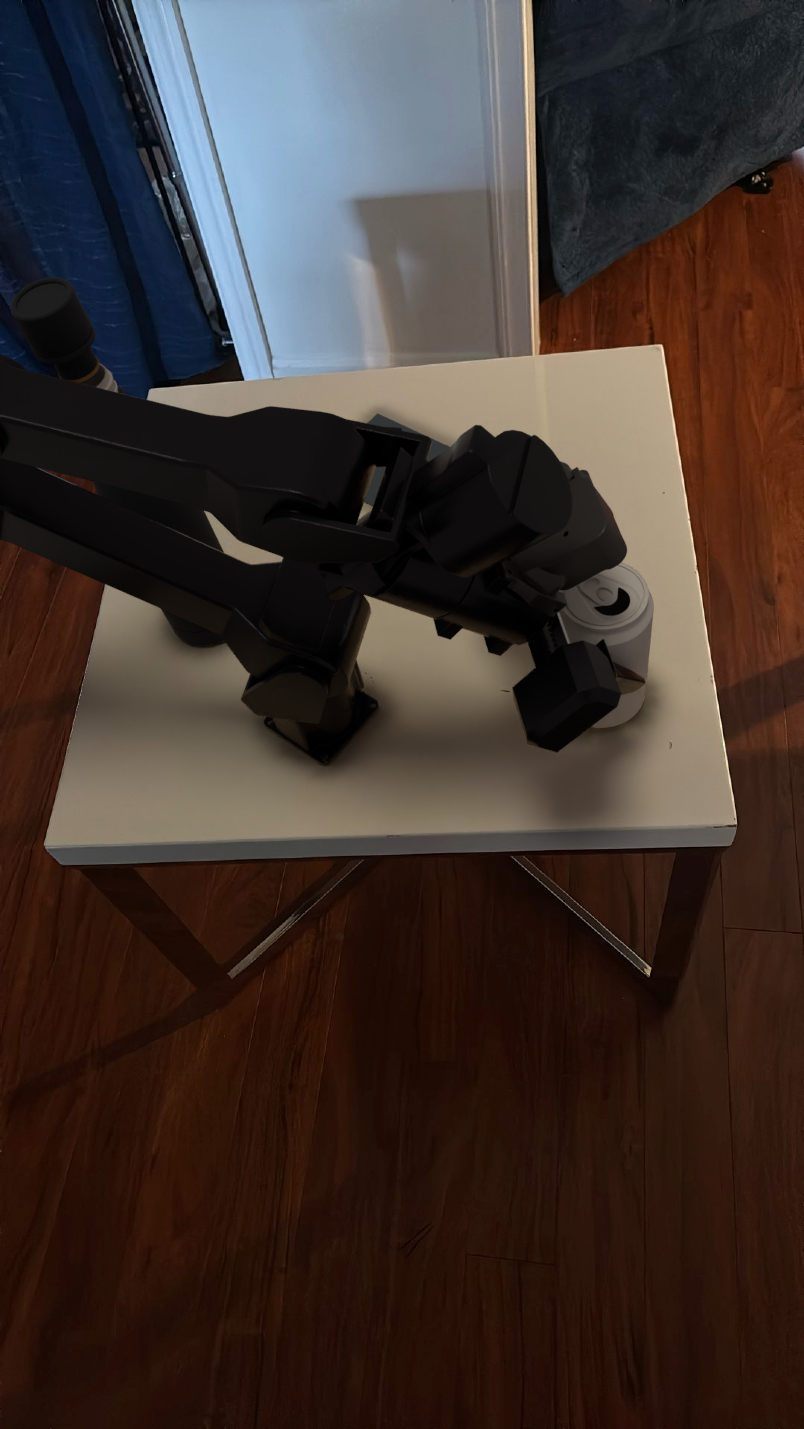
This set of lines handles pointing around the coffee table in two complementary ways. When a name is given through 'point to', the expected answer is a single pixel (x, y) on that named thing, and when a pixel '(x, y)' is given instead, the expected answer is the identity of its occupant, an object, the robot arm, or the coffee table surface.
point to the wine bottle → (66, 343)
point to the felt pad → (379, 471)
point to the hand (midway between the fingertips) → (621, 638)
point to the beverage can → (614, 626)
